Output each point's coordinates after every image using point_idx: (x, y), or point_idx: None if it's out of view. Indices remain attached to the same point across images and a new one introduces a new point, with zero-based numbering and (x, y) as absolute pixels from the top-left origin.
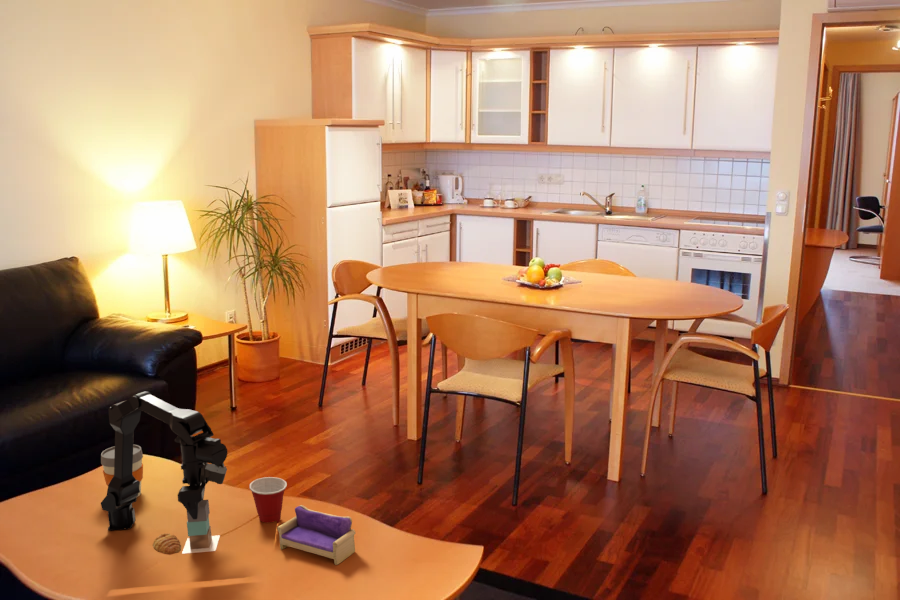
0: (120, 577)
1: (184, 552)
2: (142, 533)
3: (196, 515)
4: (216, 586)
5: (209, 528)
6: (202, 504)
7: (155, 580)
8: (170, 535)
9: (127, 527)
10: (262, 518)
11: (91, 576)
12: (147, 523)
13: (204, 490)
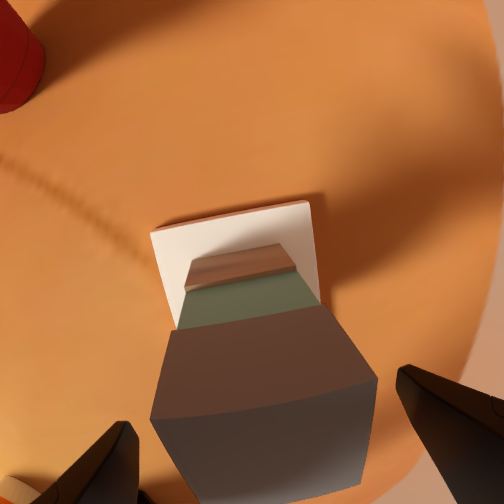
0: (396, 424)
1: None
2: (156, 471)
3: (435, 379)
4: (488, 145)
5: (217, 282)
6: (293, 432)
7: (437, 341)
8: None
9: (144, 496)
10: (25, 75)
11: (372, 468)
12: None
13: (57, 491)
